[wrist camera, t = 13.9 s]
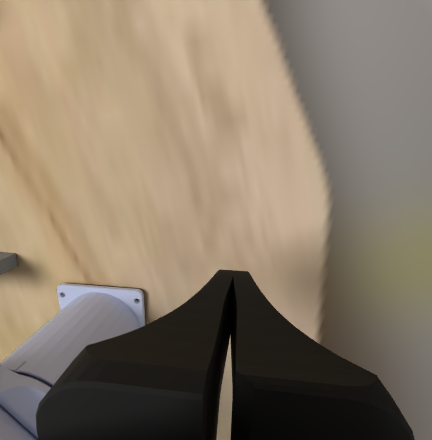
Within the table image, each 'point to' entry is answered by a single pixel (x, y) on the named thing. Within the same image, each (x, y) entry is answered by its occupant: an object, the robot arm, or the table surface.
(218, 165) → the table surface
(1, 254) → the gray parallel panels
